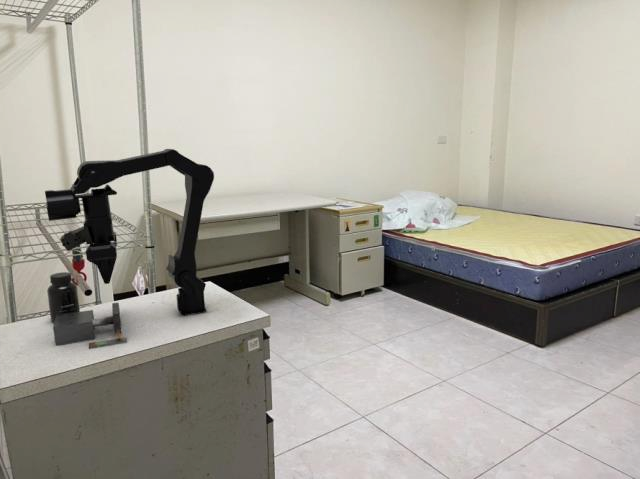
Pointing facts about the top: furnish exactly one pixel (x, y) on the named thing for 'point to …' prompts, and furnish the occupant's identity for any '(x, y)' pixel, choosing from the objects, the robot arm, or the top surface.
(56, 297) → the supplement bottle
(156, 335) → the top surface
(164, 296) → the top surface
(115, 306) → the gauge plunger
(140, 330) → the top surface
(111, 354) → the top surface
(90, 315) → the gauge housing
